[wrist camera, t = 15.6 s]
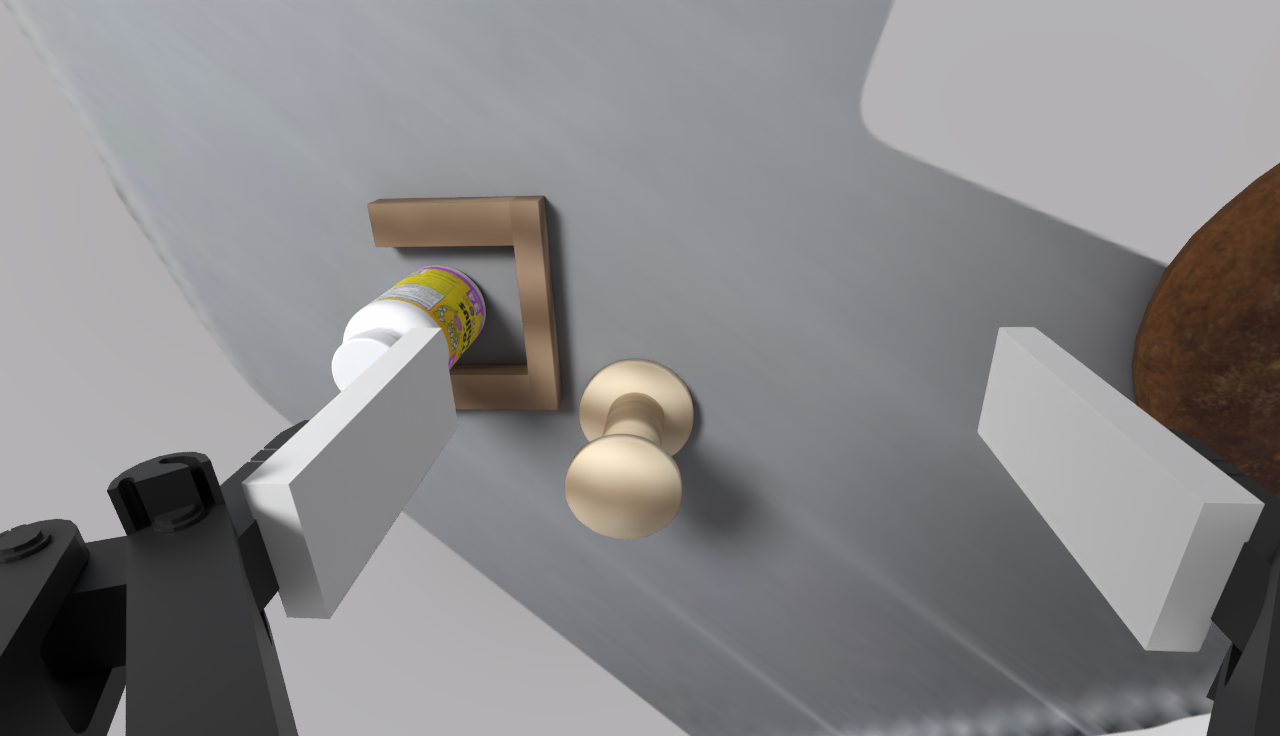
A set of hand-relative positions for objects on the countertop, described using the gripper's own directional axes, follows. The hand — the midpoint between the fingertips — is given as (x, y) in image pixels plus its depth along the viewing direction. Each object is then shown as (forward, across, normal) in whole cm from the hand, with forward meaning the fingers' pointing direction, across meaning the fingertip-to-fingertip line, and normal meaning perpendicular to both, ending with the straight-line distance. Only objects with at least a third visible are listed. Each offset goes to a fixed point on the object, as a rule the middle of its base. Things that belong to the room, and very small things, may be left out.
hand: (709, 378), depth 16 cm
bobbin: (+32, -5, -18) cm, 37 cm away
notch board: (+32, -17, -9) cm, 37 cm away
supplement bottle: (+32, -19, -9) cm, 38 cm away
